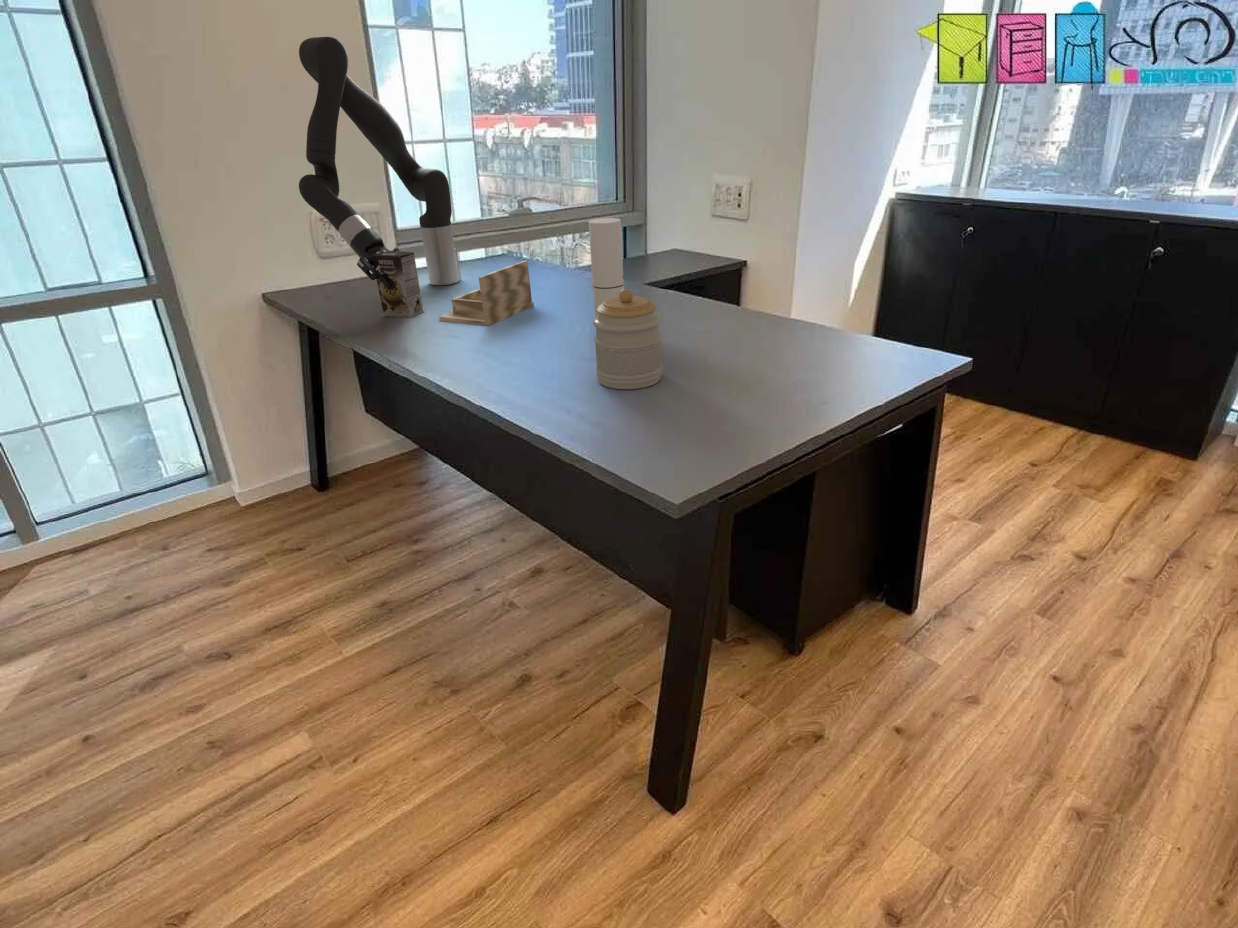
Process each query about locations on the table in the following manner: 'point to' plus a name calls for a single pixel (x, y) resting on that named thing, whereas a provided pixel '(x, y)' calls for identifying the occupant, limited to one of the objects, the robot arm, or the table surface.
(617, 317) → the jar
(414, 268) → the coffee box
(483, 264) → the table surface
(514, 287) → the holder
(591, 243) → the cylindrical container
